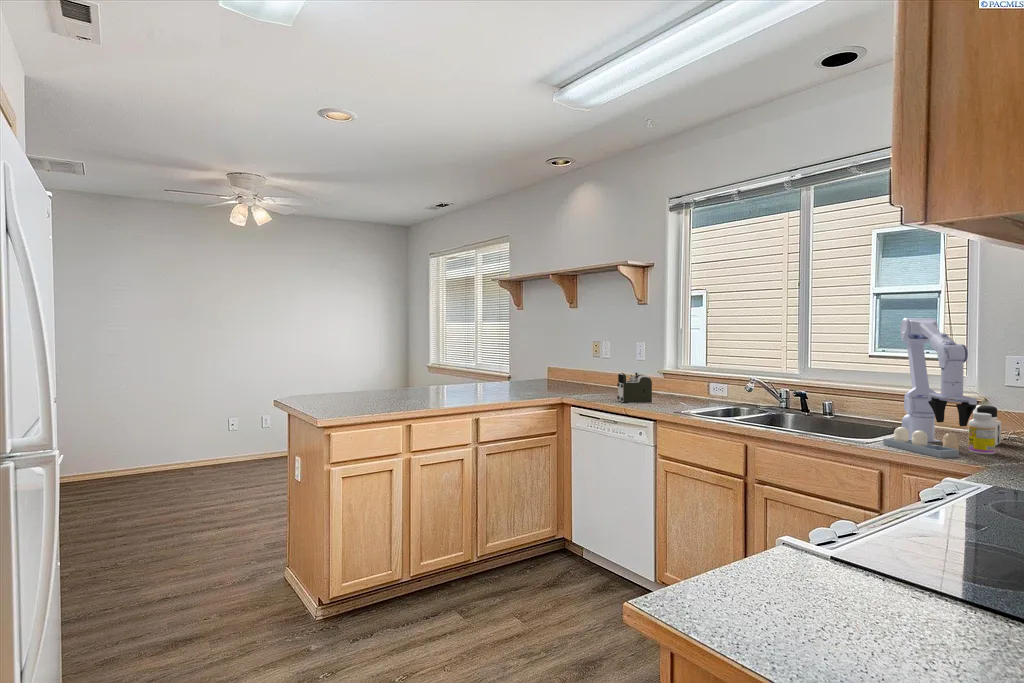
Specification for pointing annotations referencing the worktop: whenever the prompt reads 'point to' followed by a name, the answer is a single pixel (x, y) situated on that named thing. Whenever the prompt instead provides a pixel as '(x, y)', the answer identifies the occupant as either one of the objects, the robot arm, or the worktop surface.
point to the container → (993, 412)
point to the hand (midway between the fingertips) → (951, 424)
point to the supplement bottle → (982, 434)
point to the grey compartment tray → (923, 448)
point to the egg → (951, 441)
